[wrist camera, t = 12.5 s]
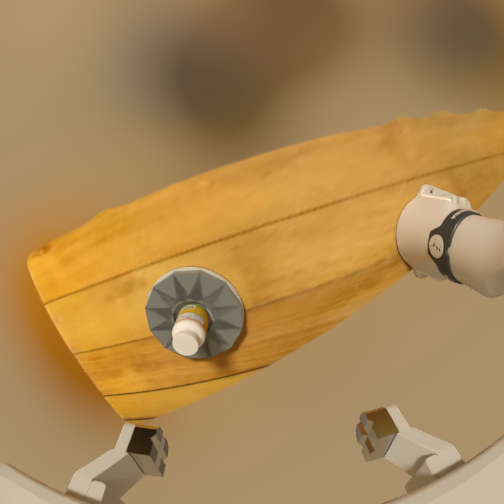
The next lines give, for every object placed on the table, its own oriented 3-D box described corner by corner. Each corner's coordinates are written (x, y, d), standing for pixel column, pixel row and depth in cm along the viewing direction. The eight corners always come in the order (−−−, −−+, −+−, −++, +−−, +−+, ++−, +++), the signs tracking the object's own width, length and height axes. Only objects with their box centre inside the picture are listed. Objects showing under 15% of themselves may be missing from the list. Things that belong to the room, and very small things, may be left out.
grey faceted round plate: (240, 263, 46) (240, 267, 44) (246, 352, 50) (247, 358, 48) (139, 268, 45) (135, 272, 43) (157, 352, 50) (155, 359, 48)
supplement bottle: (200, 333, 48) (192, 365, 39) (174, 318, 47) (162, 348, 38) (215, 312, 47) (209, 342, 38) (188, 296, 46) (177, 323, 37)
